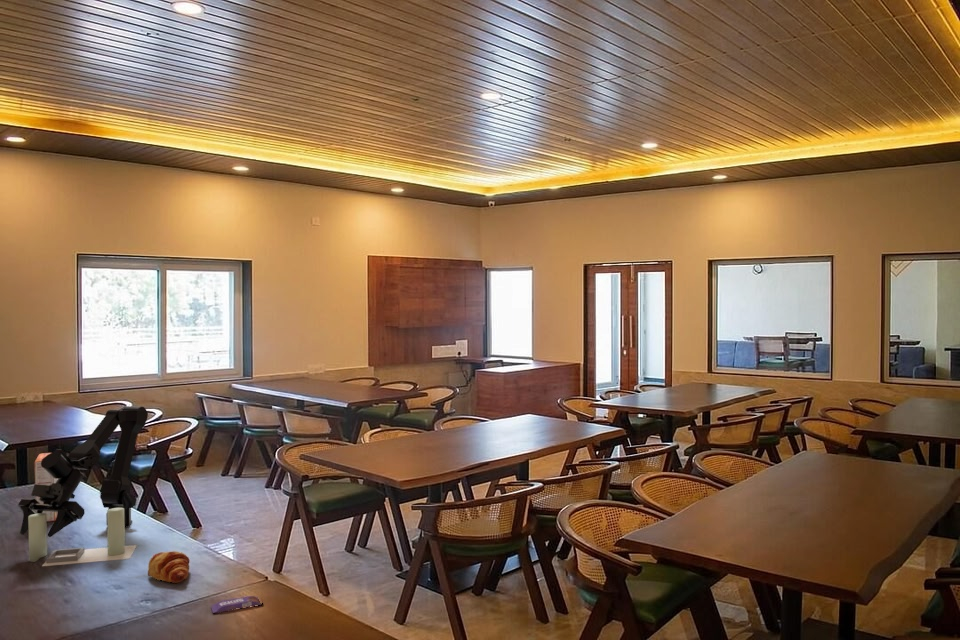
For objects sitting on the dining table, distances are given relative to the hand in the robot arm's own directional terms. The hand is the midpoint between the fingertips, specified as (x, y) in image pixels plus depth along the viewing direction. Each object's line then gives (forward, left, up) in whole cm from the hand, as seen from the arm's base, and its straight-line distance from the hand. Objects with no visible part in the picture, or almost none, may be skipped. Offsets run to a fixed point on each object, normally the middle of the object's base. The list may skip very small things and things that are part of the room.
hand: (35, 535), depth 208 cm
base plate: (-15, +3, -7) cm, 17 cm away
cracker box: (+9, -47, -7) cm, 49 cm away
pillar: (0, -1, -7) cm, 7 cm away
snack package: (-56, +50, -8) cm, 76 cm away
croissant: (-38, +23, -8) cm, 45 cm away
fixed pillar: (-21, +3, -6) cm, 23 cm away
